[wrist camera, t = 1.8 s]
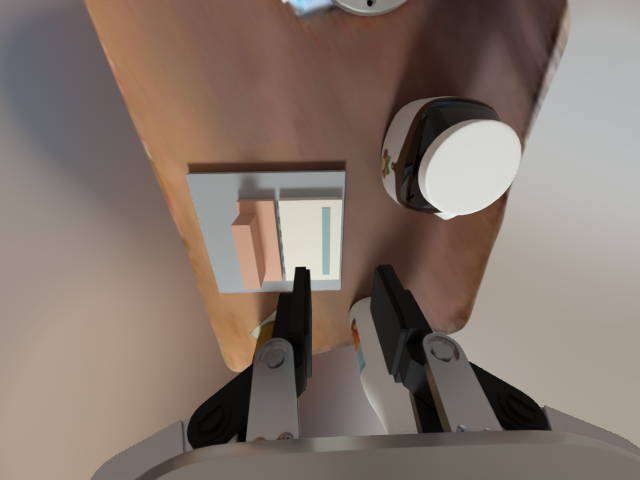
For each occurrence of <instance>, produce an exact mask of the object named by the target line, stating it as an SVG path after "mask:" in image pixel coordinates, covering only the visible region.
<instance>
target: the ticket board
mask: <svg viewBox="0 0 640 480" xmlns="http://www.w3.org/2000/svg"><path fill="white" fill-rule="evenodd" d="M185 176H186V180H187V183H188V186H189V190H190V193H191V197H192V200H193V204H194V207H195V210H196V214H197V217H198V221H199V224H200V227H201V231H202V234H203V238H204V241H205V245H206V248H207V251H208V255H209V258H210V262H211V265H212V269H213V272H214V275H215V279H216V282H217V286H218V289H219V292H220V293H241V292H277V291H293V283H294V274H295V267H306V269H310V277H311V291H313V290H340V285H341V261H342V238H343V214H344V190H345V170H307V171H248V172H189V173H187V174H185ZM238 199H274V202H275V211H276V220H277V229H278V238H279V247H280V255H281V264H282V273H283V279H282V281H263V283H262V287H261V289H251V290H245V288H244V283H243V279H242V274H241V270H240V265H239V260H238V256H237V251H236V247H235V242H234V238H233V233H232V229H231V225H232V223H233V222H234V221H235V219H236V218H237V216H238V211H237V206H236V201H237V200H238Z"/></svg>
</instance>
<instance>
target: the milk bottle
mask: <svg viewBox="0 0 640 480" xmlns="http://www.w3.org/2000/svg"><path fill="white" fill-rule="evenodd" d="M370 303H371V297H366V298H363V299H361V300H359V301H357V302H356V303H355V304H354V305H353V306H352V308H351V310H350V313H349V318H350V325H351V330H352V336H353V341H354V347H355V352H356V357H357V362H358V368H359V372H360V377H361V381H362V385H363V388H364V391H365V394H366V396H367V398H368V400H369V402H370V404H371V405H372V407H373V408H374V410H375V411H376V413H377V415H378V416H379V418H380V420H381V421H382V423H383V426H384V428H385V430H386V432H387V435H395V434H418V432H417V427H416V423H415V419H414V414H413V410H412V405H411V401H410V397H409V390H408V389H407V388H405V387H404V386H403V383H395V380H394V377H393V375H389V373H388V370H387V367H386V363H385V360H384V356H383V353H382V350H381V346H380V343H379V339H378V336H377V333H376V329H375V326H374V322H373V319H372V316H371V312H370Z"/></svg>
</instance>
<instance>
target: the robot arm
mask: <svg viewBox="0 0 640 480" xmlns="http://www.w3.org/2000/svg"><path fill="white" fill-rule="evenodd" d="M331 1H332V2H333V3H334V4H335V5H337V6H338V7H340V8H341V9H343V10H345V11H346V12H349V13H352V14H355V15H358V16H376V15H381V14H385V13H388V12H390V11H392V10H394V9H396V8H398V7H400V6H401V5H402V4H404V3H405V2H406V1H408V0H331ZM367 1H371V2H372V6H371V7H369V6H368V5H367ZM370 312H371V316H372V319H373V322H374V326H375V329H376V333H377V336H378V339H379V343H380V346H381V350H382V353H383V356H384V360H385V363H386V367H387V370H388V373H389V375H393V377H394V380H395V383H403V386H404V387H405V388H407V389H408V390H409V397H410V401H411V405H412V410H413V414H414V419H415V423H416V427H417V432H418V434H395V435H371V436H347V437H327V438H305V439H301V435H300V420H299V406H298V397H299V396H300V395H301V394H302V393H303V392H304V391H305V389H306V388H305V387H306V386H307V378H311V377H312V303H311V277H310V269H306V267H295V274H294V283H293V292H292V293H280V295H279V300H278V306H277V311H276V317H275V322H274V328H273V333H272V339H269V340H267V341H265V342H263V343H262V344H261V345H260V346H259V348H258V349H257V351H256V353H255V357H254V363H253V364H251V365H250V366H249V367H248V368H246V369H245V370H244V371H243V372H241V373H240V374H239V375H238V376H236V377H235V378H234V379H233V380H231V381H230V382H229V383H228V384H227V385H225V386H224V387H223V388H221V389H220V390H219V391H218V392H217V393H215V394H214V395H213V396H211V397H210V398H209V399H208V400H207V401H205V402H204V403H203V404H202V405H201V406H200V407H199V408H198V409H197V410H196V411H195V412H194V414H193V415H192V417H191V418H189V419H187V420H185V421H184V422H182V421H181V420H179V421H177V422H176V423H174V424H172V425H170V426H169V427H166V428H165V429H163V430H161V431H159V432H158V433H155V434H154V435H152V436H150V437H148V438H146V439H144V440H143V441H141V442H139V443H137V444H135V445H133V446H132V447H130V448H128V449H126V450H124V451H123V452H121V453H119V454H117V455H115V456H114V457H112V458H111V459H109V460H108V461H106V462H105V463H104V464H103V465H102V466H101V467H100V468H99V469H98V470H97V471H96V472H95V474H94V475H93V477H92V478H91V480H640V448H638V447H637V446H636V445H634V444H633V443H631V442H630V441H628V440H627V439H625V438H623V437H621V436H619V435H617V434H614V433H612V432H610V431H607V430H605V429H602V428H600V427H597V426H595V425H592V424H590V423H587V422H585V421H582V420H580V419H577V418H575V417H572V416H570V415H567V414H565V413H562V412H560V411H557V410H555V409H553V408H550V407H548V406H544V407H543V408H542V407H539V405H538V404H537V403H536V402H535V401H534V400H533V399H531V398H530V397H529V396H527V395H526V394H525V393H523V392H522V391H520V390H518V389H516V388H515V387H513V386H511V385H509V384H508V383H506V382H504V381H502V380H501V379H499V378H497V377H496V376H494V375H492V374H490V373H489V372H487V371H485V370H483V369H482V368H480V367H478V366H477V365H475V364H473V363H471V362H469V361H468V359H467V357H466V355H465V354H464V351H463V350H462V348H461V347H460V345H459V344H458V343H457V342H456V341H455V340H453V339H451V338H450V337H448V336H446V335H444V334H440V333H433V331H432V329H431V328H430V326H429V324H428V322H427V320H426V319H425V317H424V315H423V313H422V311H421V310H420V308H419V306H418V304H417V302H416V301H415V299H414V297H413V295H412V293H411V292H410V290H408V289H407V290H404V288H403V287H402V285H401V283H400V281H399V279H398V277H397V275H396V273H395V271H394V269H393V267H392V266H391V265H390V264H385V265H379V266H378V267H377V268H375V272H374V279H373V287H372V295H371V303H370Z"/></svg>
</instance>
